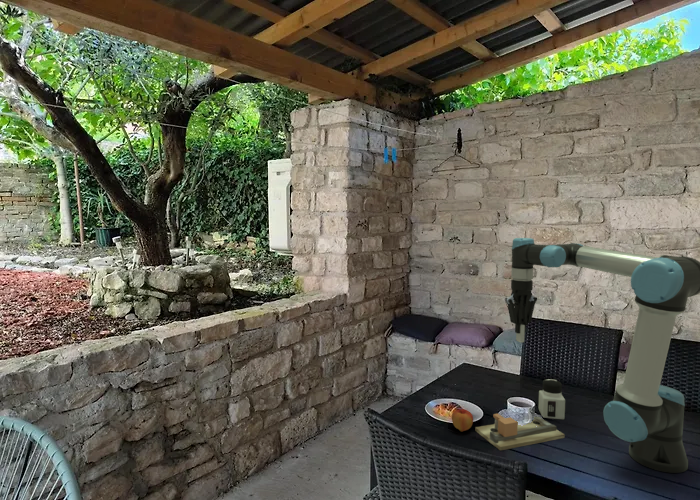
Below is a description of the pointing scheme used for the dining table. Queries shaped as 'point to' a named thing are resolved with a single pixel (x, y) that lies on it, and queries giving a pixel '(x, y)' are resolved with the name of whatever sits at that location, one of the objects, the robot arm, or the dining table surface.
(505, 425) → the block
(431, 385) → the dining table surface
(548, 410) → the container
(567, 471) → the dining table surface
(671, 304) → the robot arm
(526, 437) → the board
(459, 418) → the apple
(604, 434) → the dining table surface
